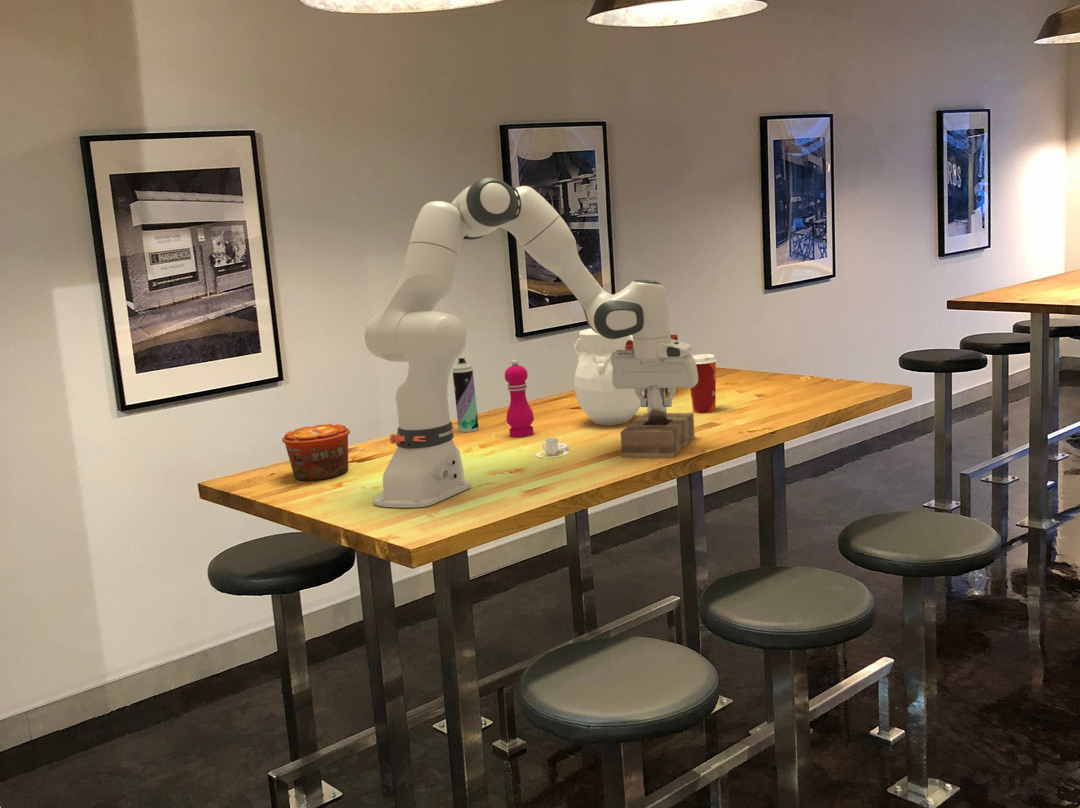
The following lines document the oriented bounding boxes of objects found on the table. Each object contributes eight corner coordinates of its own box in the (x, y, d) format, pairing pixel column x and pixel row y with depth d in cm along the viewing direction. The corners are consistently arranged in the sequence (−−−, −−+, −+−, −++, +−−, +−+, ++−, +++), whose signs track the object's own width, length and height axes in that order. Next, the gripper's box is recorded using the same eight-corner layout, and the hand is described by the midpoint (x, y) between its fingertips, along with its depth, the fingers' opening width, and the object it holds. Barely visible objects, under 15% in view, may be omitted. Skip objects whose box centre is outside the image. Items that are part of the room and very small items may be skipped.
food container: (274, 478, 254) (268, 435, 252) (328, 462, 265) (323, 421, 263) (313, 486, 243) (307, 441, 241) (368, 469, 255) (362, 426, 253)
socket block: (672, 457, 239) (671, 432, 238) (622, 457, 244) (620, 431, 243) (694, 436, 257) (693, 412, 256) (647, 436, 262) (645, 413, 261)
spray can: (455, 432, 288) (447, 359, 284) (465, 427, 293) (458, 356, 289) (472, 432, 285) (464, 359, 282) (482, 428, 290) (475, 356, 286)
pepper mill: (532, 437, 273) (525, 360, 269) (505, 438, 275) (497, 362, 271) (537, 430, 280) (531, 356, 276) (511, 432, 282) (504, 358, 278)
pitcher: (569, 430, 277) (561, 336, 273) (587, 415, 295) (579, 326, 290) (639, 428, 272) (632, 332, 267) (652, 413, 289) (646, 322, 284)
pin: (664, 427, 247) (661, 385, 245) (646, 427, 249) (643, 386, 247) (669, 423, 251) (666, 382, 249) (651, 423, 253) (648, 382, 251)
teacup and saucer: (564, 449, 259) (563, 433, 258) (577, 455, 251) (575, 438, 251) (531, 455, 256) (529, 438, 255) (542, 461, 249) (541, 444, 248)
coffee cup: (725, 410, 284) (722, 355, 281) (698, 415, 281) (695, 359, 278) (709, 406, 292) (706, 352, 289) (683, 410, 289) (679, 356, 286)
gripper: (605, 352, 248) (610, 409, 250) (691, 349, 240) (695, 409, 242) (614, 347, 253) (618, 404, 256) (697, 345, 245) (701, 403, 248)
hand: (656, 406), depth 249 cm, fingers closed on pin, 4 cm apart
